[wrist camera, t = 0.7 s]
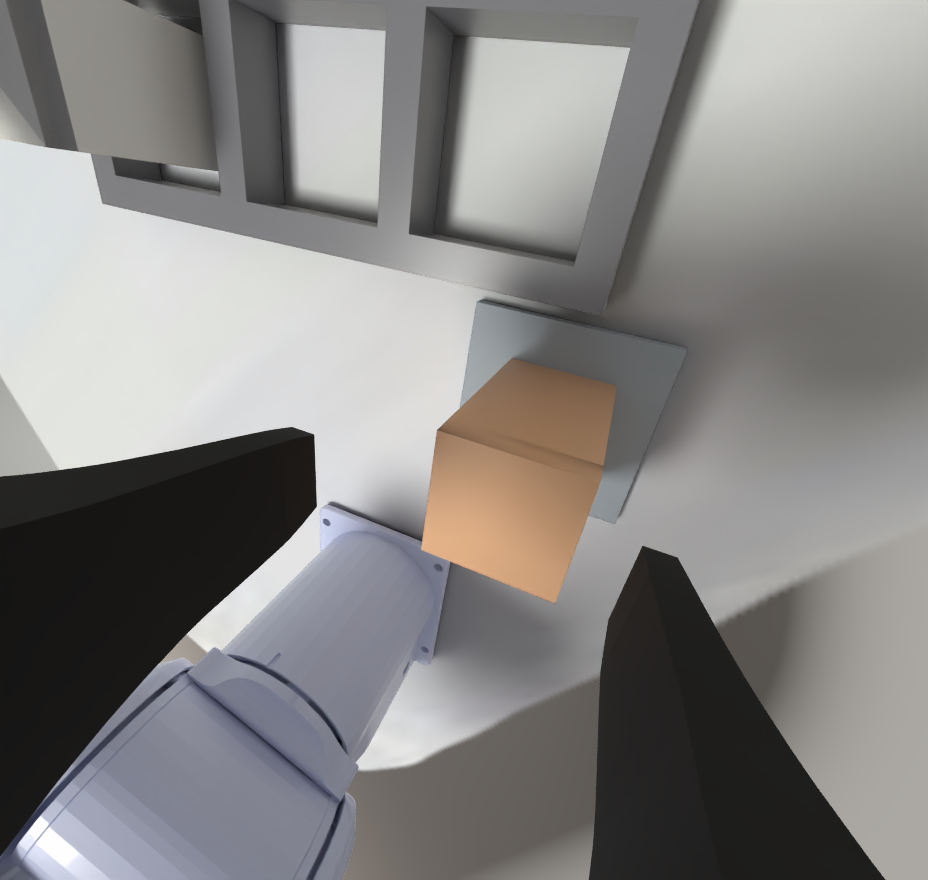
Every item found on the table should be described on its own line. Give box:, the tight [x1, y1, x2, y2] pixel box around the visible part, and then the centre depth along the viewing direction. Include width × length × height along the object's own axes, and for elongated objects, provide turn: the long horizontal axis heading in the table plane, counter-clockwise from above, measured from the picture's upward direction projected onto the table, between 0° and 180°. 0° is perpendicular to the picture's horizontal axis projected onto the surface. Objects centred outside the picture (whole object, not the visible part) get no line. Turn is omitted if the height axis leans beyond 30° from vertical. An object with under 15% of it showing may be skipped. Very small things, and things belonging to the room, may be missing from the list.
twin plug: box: [0, 0, 219, 171], centre depth 14 cm, size 4×4×7 cm
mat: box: [460, 300, 688, 524], centre depth 17 cm, size 8×8×1 cm
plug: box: [421, 358, 617, 603], centre depth 14 cm, size 4×4×7 cm
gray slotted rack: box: [91, 0, 700, 316], centre depth 15 cm, size 8×22×2 cm, turn 81°
